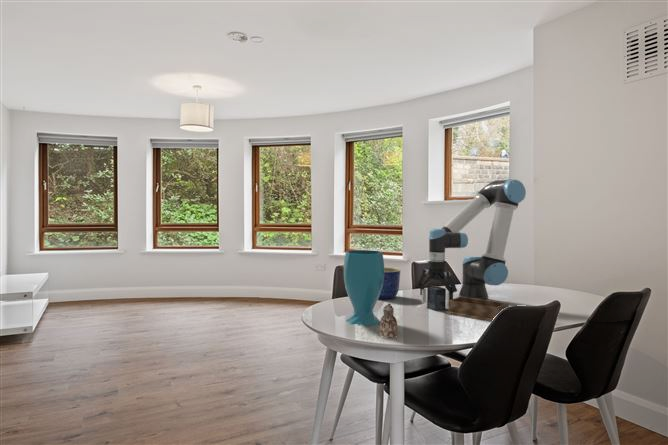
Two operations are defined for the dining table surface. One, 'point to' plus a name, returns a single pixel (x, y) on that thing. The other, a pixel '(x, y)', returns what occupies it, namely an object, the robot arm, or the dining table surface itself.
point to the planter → (390, 283)
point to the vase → (363, 283)
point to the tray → (475, 308)
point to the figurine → (388, 323)
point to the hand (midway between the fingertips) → (436, 304)
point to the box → (436, 298)
